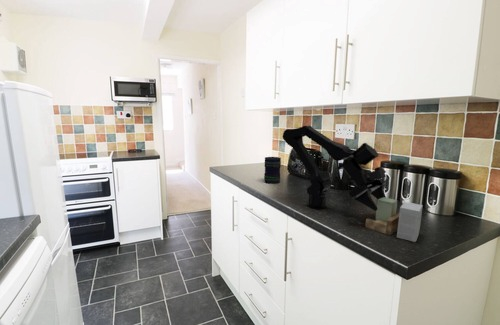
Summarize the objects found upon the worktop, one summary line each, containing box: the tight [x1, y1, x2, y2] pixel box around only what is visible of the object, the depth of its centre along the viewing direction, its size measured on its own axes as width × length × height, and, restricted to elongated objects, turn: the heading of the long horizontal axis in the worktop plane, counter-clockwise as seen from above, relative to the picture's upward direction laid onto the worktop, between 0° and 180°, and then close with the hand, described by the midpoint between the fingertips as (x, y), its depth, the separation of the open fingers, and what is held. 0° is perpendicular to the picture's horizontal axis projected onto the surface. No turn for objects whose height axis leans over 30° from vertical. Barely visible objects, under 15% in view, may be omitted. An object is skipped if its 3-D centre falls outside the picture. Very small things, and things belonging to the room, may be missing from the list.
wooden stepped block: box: [365, 212, 399, 236], centre depth 94 cm, size 8×12×5 cm
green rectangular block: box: [375, 197, 398, 222], centre depth 94 cm, size 5×5×10 cm
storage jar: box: [263, 156, 282, 185], centre depth 158 cm, size 10×10×15 cm
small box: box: [396, 201, 423, 243], centre depth 86 cm, size 8×6×10 cm
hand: (381, 207), depth 95 cm, fingers open, 9 cm apart
